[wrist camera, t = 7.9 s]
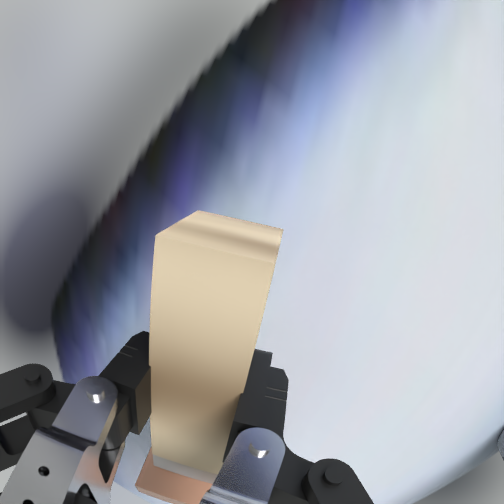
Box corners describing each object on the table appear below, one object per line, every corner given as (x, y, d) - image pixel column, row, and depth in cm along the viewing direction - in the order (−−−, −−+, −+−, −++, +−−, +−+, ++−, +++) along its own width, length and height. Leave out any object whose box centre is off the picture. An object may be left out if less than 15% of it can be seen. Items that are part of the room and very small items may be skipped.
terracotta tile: (176, 388, 20) (134, 485, 13) (260, 410, 19) (236, 515, 13) (177, 401, 21) (139, 492, 14) (256, 422, 20) (233, 519, 13)
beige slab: (167, 204, 10) (116, 225, 7) (317, 237, 10) (324, 275, 7) (157, 458, 15) (138, 497, 12) (238, 481, 15) (227, 524, 12)
